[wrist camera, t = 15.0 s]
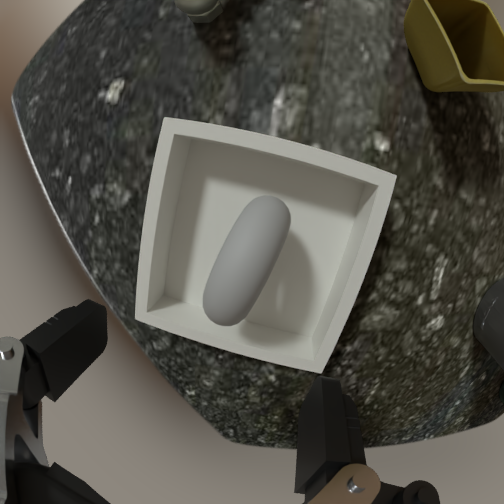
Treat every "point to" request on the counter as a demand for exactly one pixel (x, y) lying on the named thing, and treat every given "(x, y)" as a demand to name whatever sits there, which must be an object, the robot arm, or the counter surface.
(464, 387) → the counter surface
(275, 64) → the counter surface
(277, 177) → the tray
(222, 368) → the counter surface
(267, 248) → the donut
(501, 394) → the coffee jar
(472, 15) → the flower pot
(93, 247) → the counter surface
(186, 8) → the valve
